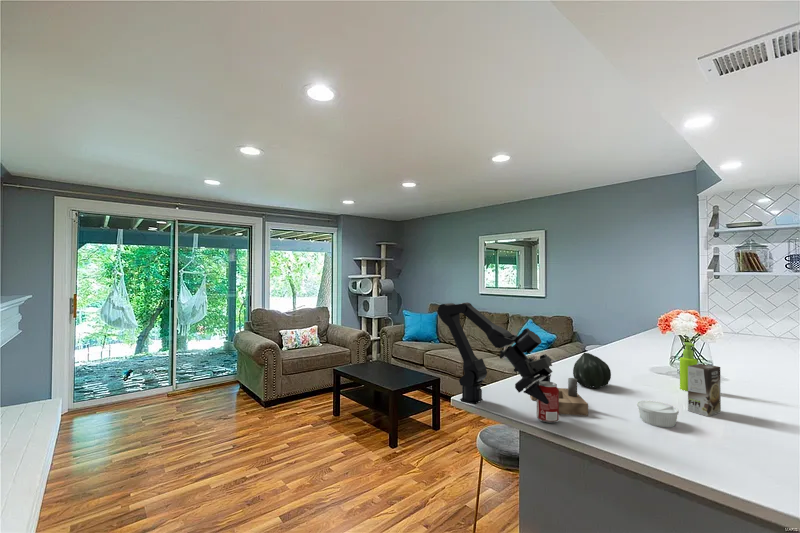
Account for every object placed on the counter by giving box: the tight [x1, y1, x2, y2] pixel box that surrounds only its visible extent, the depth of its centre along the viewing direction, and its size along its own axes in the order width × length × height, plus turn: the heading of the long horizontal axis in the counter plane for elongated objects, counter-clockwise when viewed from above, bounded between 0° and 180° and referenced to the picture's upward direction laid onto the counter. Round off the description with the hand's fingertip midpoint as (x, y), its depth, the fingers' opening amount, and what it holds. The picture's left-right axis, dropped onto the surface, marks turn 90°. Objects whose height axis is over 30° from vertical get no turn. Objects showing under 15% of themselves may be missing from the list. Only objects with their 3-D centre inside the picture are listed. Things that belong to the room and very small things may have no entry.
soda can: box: [536, 381, 560, 424], centre depth 124 cm, size 7×7×12 cm
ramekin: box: [636, 400, 680, 428], centre depth 123 cm, size 11×11×5 cm
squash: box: [572, 352, 612, 389], centre depth 163 cm, size 14×15×15 cm
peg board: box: [529, 377, 589, 417], centre depth 138 cm, size 16×17×10 cm
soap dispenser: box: [679, 341, 698, 392], centre depth 158 cm, size 6×7×20 cm
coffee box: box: [687, 363, 722, 417], centre depth 133 cm, size 9×6×16 cm
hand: (551, 400), depth 123 cm, fingers closed on soda can, 6 cm apart
